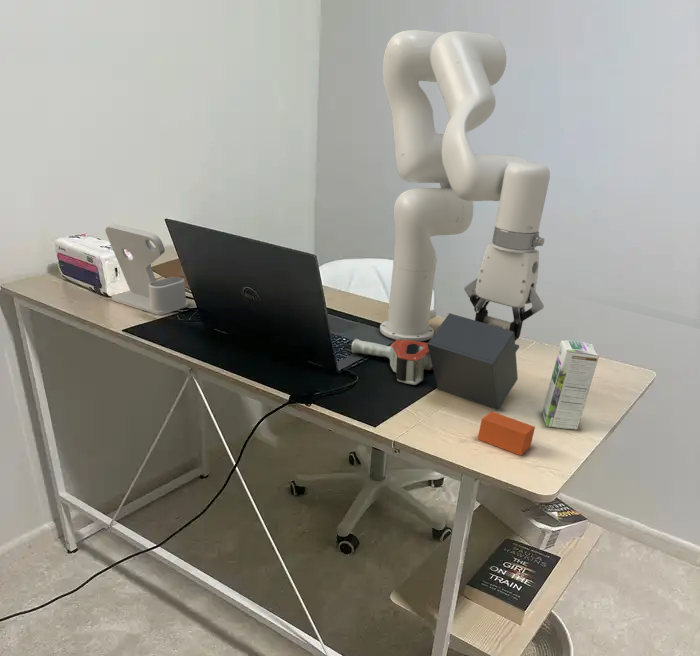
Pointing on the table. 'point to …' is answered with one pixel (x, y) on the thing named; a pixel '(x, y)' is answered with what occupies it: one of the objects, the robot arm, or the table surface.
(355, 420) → the table surface
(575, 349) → the syrup box
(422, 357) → the tape dispenser
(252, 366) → the table surface
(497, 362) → the caddy
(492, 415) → the orange block
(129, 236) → the phone holder
